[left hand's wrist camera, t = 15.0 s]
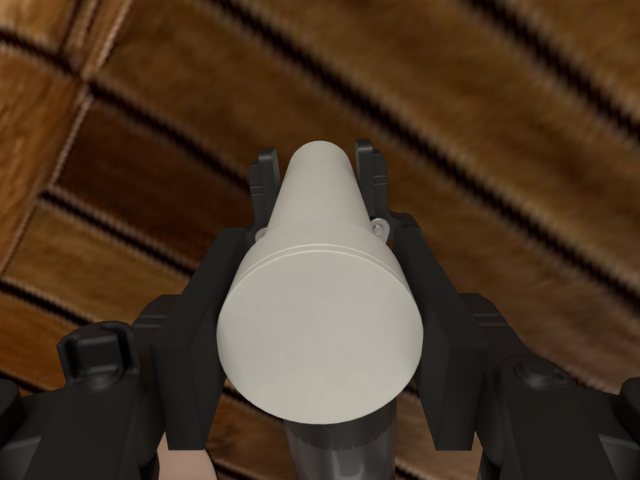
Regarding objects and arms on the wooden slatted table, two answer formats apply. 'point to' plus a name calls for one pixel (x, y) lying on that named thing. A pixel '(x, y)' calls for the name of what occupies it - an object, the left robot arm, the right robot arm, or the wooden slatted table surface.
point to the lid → (319, 323)
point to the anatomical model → (184, 464)
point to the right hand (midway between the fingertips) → (314, 147)
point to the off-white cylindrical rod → (319, 188)
